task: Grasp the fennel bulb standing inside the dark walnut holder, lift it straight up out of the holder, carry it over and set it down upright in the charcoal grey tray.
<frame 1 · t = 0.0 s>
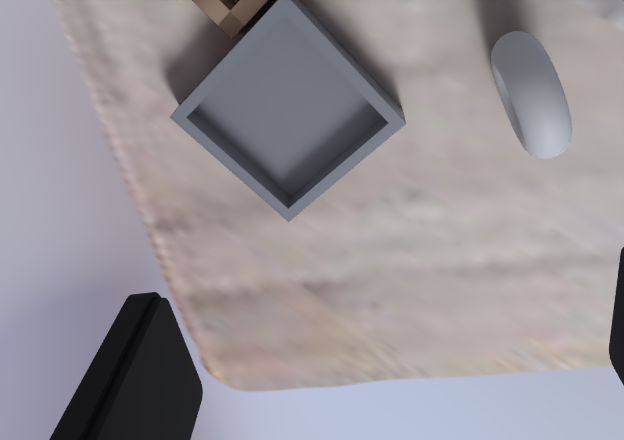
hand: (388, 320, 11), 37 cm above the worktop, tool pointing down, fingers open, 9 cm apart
tray: (289, 108, 48), on the worktop
donut: (512, 76, 46), on the worktop
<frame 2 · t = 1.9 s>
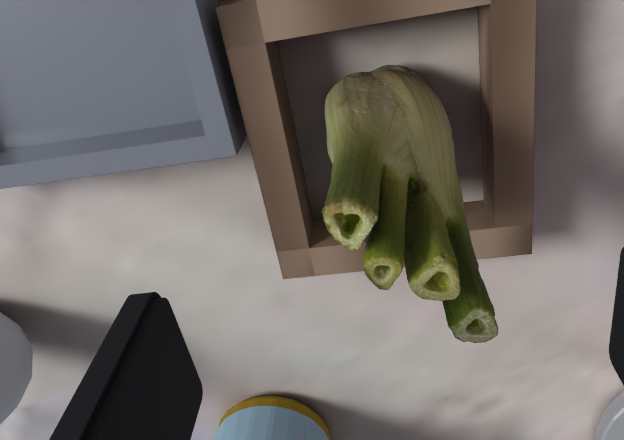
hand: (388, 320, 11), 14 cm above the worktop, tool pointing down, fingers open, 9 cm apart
fennel bulb: (385, 118, 24), resting in holder
holder: (385, 120, 24), on the worktop
bottle: (276, 426, 34), on the worktop
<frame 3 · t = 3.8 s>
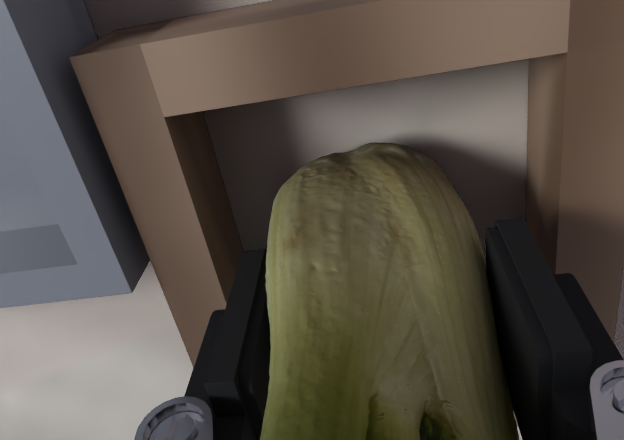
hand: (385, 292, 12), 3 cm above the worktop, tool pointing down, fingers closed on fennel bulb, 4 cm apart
fennel bulb: (373, 212, 15), resting in holder, touching gripper
holder: (376, 216, 15), on the worktop
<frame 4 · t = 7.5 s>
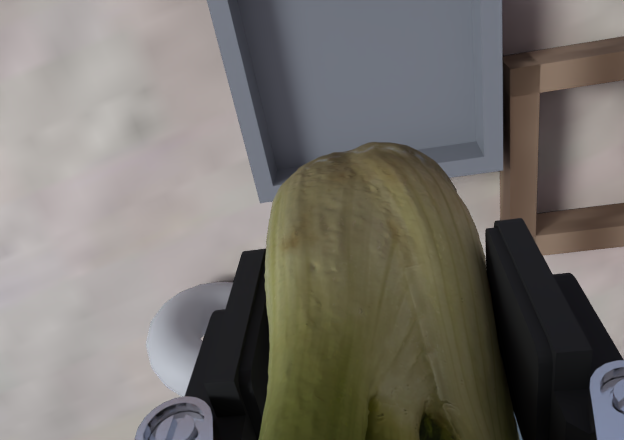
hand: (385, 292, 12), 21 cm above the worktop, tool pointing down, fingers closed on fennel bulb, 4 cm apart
tray: (360, 52, 31), on the worktop
fennel bulb: (373, 211, 15), point 18 cm above the worktop, touching gripper
donut: (239, 289, 40), on the worktop
holder: (595, 142, 32), on the worktop
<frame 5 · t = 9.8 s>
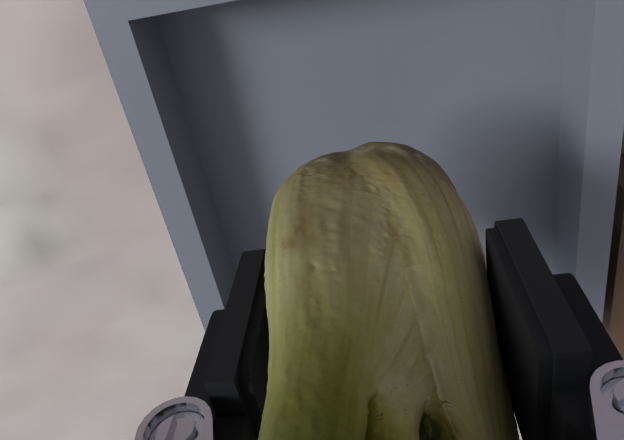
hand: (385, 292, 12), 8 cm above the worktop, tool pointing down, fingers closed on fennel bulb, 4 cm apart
tray: (374, 149, 19), on the worktop
fennel bulb: (373, 211, 15), point 5 cm above the worktop, touching gripper
when the fingers open (5 cm above the worktop, at t = 11.3 s): fennel bulb drops 1 cm, resting on tray.
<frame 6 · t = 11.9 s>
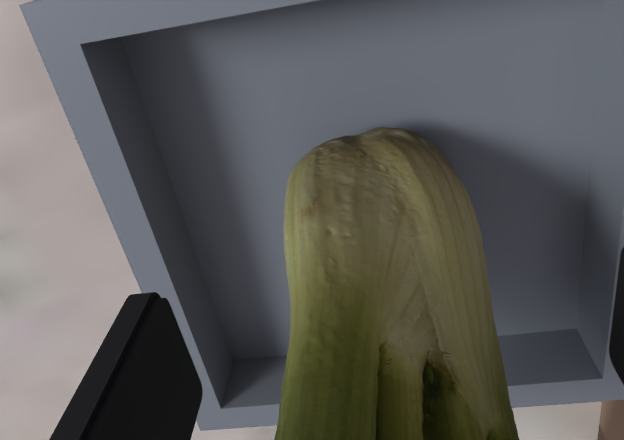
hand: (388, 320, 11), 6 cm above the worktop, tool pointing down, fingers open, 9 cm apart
tray: (375, 184, 17), on the worktop
fennel bulb: (377, 194, 16), point 1 cm above the worktop, touching tray
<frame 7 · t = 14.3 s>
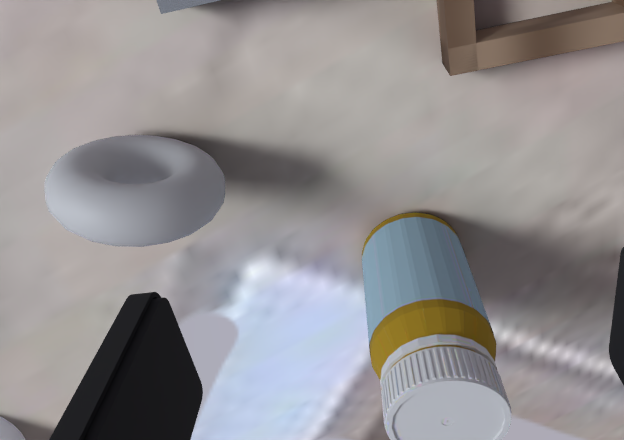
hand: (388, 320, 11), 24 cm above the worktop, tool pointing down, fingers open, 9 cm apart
donut: (162, 149, 36), on the worktop
bottle: (409, 247, 40), on the worktop
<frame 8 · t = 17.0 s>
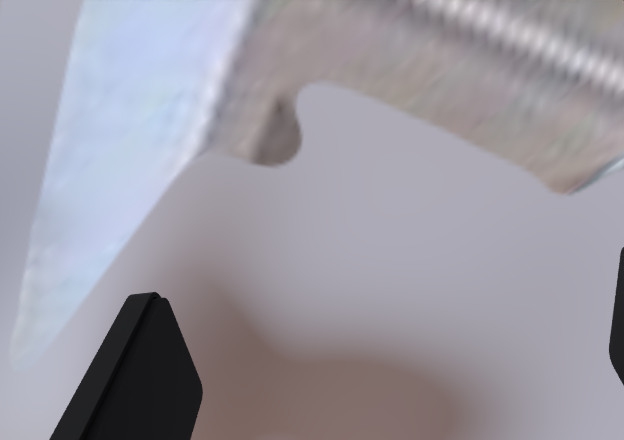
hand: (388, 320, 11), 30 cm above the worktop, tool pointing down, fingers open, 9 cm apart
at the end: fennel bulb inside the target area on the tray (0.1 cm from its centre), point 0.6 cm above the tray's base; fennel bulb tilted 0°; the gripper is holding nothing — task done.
